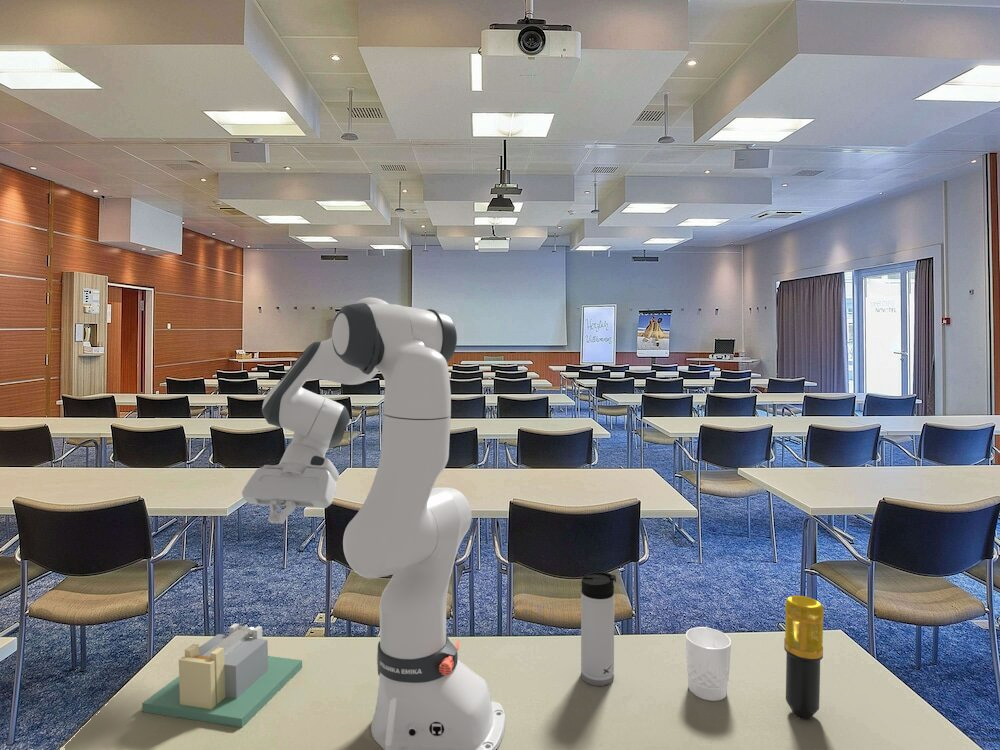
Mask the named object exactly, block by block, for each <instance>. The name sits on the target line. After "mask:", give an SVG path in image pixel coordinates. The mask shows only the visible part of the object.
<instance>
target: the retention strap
mask: <svg viewBox="0 0 1000 750" xmlns="http://www.w3.org/2000/svg"><path fill="white" fill-rule="evenodd" d="M254 628H255V627H249V626H241V625H239V626H238V627H237V628H236V630H235V632H233V633H232V634H231V635H229V634H228V635H229V636H228V637H227V638H225V639H224V640H222V641H221V642H220V643H218V644H217V645H216V646H214V647H213V648H212V649H210V650H209V651H208V652H206V653H205V654H204V655H202V656H200V655H198V656H196V657H195V658H197V659H204V660H210V653H211V652H212V651H214V650H215V649H217V648H218V647H220V648H224V657H225V656H226V655H228V654H229V653H230V652H231V651H233V650H234V649H235V648H236V647H238V646H239V645H240V644H241V643H243V642H244V641H245V640H246V639H248V638H253V633H252V630H253V629H254Z"/></svg>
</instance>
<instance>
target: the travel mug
mask: <svg viewBox="0 0 1000 750" xmlns="http://www.w3.org/2000/svg"><path fill="white" fill-rule="evenodd" d="M616 582H617V576H616V575H615V574H611V573H609V572H604V571H601V572H599V571H597V572H590V573H588V574H585V575H584V576H583V577H582V578H581V591H580V593H581V594H580V595H581V596H580V597H581V598H580V603H581V604H580V607H581V608H580V611H581V612H580V613H581V614H580V615H581V616H580V648H581V649H580V652H581V653H580V676H581V679H582V680H583V681H584V682H585V683H588V684H590V685H593V686H598V687H599V686H600V687H602V686H603V687H604V686H607V685H610V684H611V683H612V682H613V681H614V679H615V674H614V673H615V586H614V585H615V584H614V583H616Z"/></svg>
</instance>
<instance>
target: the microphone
mask: <svg viewBox="0 0 1000 750" xmlns="http://www.w3.org/2000/svg"><path fill="white" fill-rule="evenodd" d="M784 606H785V608H784V613H785V631H784V632H785V635H784V644H783V645H784V646H783V647H784V652H786V661H785V662H786V666H785V667H786V670H785V701H786V704H787V705H788V707H789V708H790V710H791V712H792V713H793V715H794V716H796V717H797V718H799V719H801V720H811V719H812V718H813V717H814V715H816V713H817V712H818V711H819V710H820V697H821V696H820V691H821V687H820V685H821V684H820V683H821V660H822V659H823V658H824V646H823V645H824V644H823V642H824V641H823V638H824V637H823V636H824V634H823V633H824V621H825V619H824V618H825V615H824V613H825V612H824V606H823V604H822V603H821V602H820V601H819V600H817V599H814V598H812V597H809V596H804V595H791V596H789V597H787V598H786V599H785V605H784Z"/></svg>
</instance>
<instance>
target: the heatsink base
mask: <svg viewBox="0 0 1000 750" xmlns="http://www.w3.org/2000/svg"><path fill="white" fill-rule="evenodd" d="M238 626H240V624H239V623H233V624H231V626H229V627H228V630H229V631H228V633H229V634H221V633H220V634H219V633H218V634H216V635H215V636H213V637H212V638H210V639H208V640H207V641H206V642H204V643H203V644H202V645H199V644H195V643H193V644H191V645H189V647H187V648H185V649H184V656H182V657H180V658H179V659H178V676H177V677H175V679H173V680H171V681H170V682H169V683H168V684H166V685H164V686H163V687H162V688H161V689H159V690H158V691H156V692H155V693H153V694H152V695H151V696H150V697H148V698H147V699H145V700H144V701H143V702H142V703H141V704H142V705H141V706H142V707H141V709H142V712H143V711H145V713H149V712H150V714H157V715H161V716H162V715H163V716H169V717H175V718H181V719H187V720H192V721H193V720H195V721H200V722H205V723H212V724H218V725H225V726H230V727H235V728H237V727H238V728H243V727H244V726H245V725H246V724H247V723H248V722H249V721H251V719H252V718H253V717H254V716H255V715H256V714H257V713H258V712H260V710H261V709H262V708H264V707H265V705H267V704H268V702H269V701H270V700H272V698H273V697H274V696H276V695H277V694H278V693H279V691H280V690H281V689H282V688H284V686H285V685H286V684H288V682H290V681H291V679H292V678H294V677H295V676H296V675H297V674H298V673H299V671H301V669H302V668H303V660H302V659H295V658H294V659H293V658H290V657H289V658H288V657H280V656H273V655H269V651H268V650H269V648H268V645H269V644H268V639H263V626H260V625H257V626H256V627H253V628H254V629H253V630H252V633H253V637H249V638H248V639H246V640H245V641H244V642H243V643H241V644H240V645H239V646H238V647H236V648H235V649H234V650H233V651H231V652H230V653H229V654H228V655H226V656H225V657H224V648H220V647H218V648H217V649H215V650H214V651H212V652H211V653H210V660H204V659H197V658H195V657H196V656H198V655H200V656H202V655H204V654H205V653H206V652H208V651H209V650H210V649H212V648H213V647H214V646H216V645H217V644H218V643H220V642H221V641H222V640H224V639H225V638H227V637H228V636H229V635H231V634H232V633H233V632H235V630H236V628H237V627H238Z"/></svg>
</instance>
